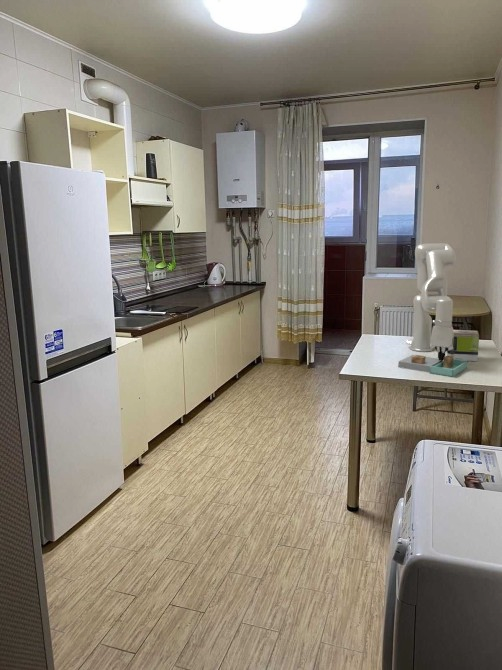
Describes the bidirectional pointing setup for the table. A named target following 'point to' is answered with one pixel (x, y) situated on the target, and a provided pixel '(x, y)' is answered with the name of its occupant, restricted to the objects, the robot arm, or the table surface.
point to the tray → (450, 372)
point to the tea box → (465, 345)
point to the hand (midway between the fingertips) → (441, 359)
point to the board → (420, 367)
